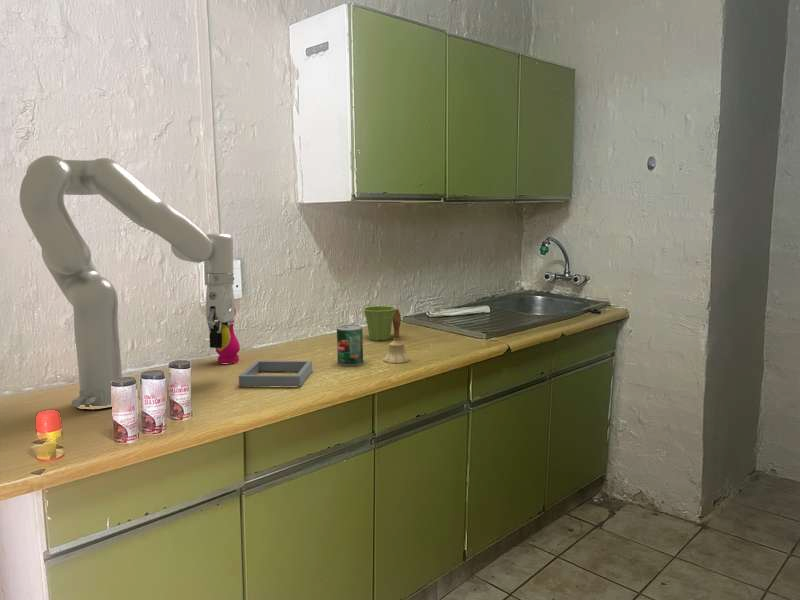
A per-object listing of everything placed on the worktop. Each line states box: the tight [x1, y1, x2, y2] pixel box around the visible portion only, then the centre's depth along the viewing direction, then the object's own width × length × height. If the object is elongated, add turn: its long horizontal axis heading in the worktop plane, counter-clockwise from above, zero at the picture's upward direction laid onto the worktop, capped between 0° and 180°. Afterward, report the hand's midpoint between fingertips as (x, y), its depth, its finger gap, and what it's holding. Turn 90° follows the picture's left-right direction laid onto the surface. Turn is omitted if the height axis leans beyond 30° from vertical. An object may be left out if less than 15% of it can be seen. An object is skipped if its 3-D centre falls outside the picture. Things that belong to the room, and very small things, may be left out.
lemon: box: [209, 323, 231, 351], centre depth 168 cm, size 6×6×8 cm
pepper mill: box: [215, 306, 241, 364], centre depth 189 cm, size 7×7×20 cm
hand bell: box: [383, 308, 411, 364], centre depth 189 cm, size 8×8×16 cm
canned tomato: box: [336, 324, 364, 367], centre depth 187 cm, size 8×8×11 cm
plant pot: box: [362, 305, 397, 342], centre depth 219 cm, size 12×12×11 cm
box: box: [238, 360, 313, 387], centre depth 171 cm, size 16×16×3 cm
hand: (220, 344), depth 168 cm, fingers closed on lemon, 5 cm apart
